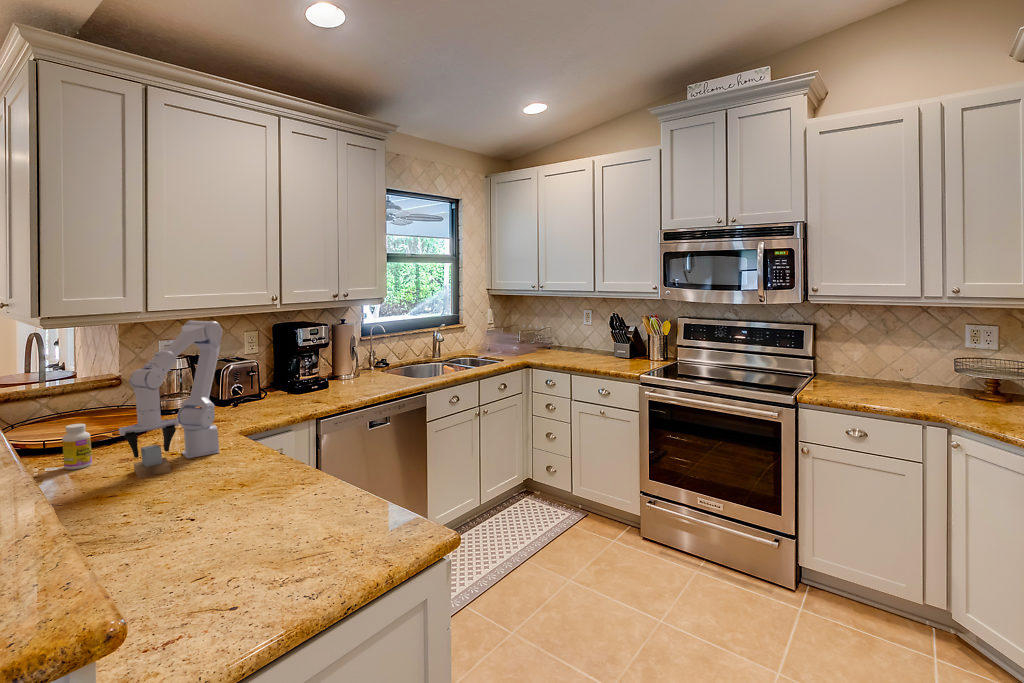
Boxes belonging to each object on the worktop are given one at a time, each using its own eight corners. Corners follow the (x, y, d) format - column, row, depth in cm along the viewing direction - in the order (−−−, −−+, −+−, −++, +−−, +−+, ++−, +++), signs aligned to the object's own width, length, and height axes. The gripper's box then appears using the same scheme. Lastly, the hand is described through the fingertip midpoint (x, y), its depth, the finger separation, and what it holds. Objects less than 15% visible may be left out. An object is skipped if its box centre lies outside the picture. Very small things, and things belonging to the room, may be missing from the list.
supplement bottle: (76, 471, 156) (73, 429, 155) (58, 469, 157) (54, 427, 156) (98, 463, 163) (95, 423, 161) (80, 462, 164) (77, 422, 163)
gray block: (157, 460, 159) (156, 444, 158) (162, 463, 156) (160, 447, 156) (142, 463, 156) (140, 447, 155) (146, 467, 153) (145, 450, 153)
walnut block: (166, 466, 162) (165, 457, 162) (171, 473, 156) (170, 464, 156) (134, 472, 157) (133, 463, 156) (138, 480, 151) (137, 470, 150)
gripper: (172, 403, 162) (175, 445, 164) (115, 411, 151) (118, 456, 153) (179, 406, 157) (182, 450, 159) (121, 415, 147) (124, 462, 148)
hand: (151, 453), depth 156 cm, fingers open, 7 cm apart
